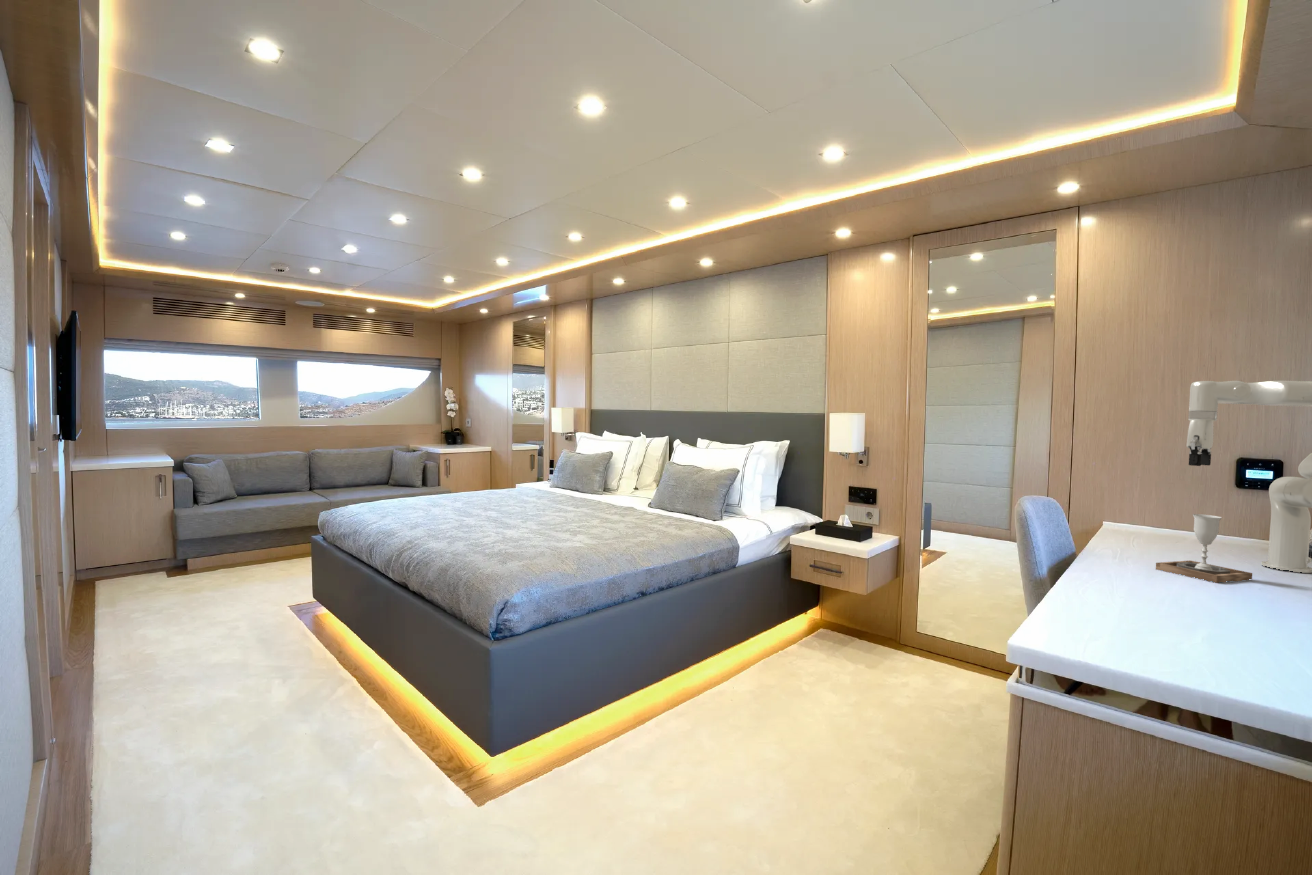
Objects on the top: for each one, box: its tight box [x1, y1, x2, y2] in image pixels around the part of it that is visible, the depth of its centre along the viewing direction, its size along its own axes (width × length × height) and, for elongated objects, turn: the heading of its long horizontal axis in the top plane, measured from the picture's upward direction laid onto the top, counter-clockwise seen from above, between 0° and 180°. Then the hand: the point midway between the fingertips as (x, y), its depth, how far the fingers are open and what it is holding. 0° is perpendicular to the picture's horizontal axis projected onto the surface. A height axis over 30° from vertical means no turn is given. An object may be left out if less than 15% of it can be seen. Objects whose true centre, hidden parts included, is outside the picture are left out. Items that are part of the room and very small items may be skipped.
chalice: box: [1192, 513, 1222, 570], centre depth 197 cm, size 7×7×18 cm
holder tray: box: [1155, 560, 1253, 584], centre depth 197 cm, size 17×17×2 cm
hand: (1199, 465), depth 214 cm, fingers open, 9 cm apart
